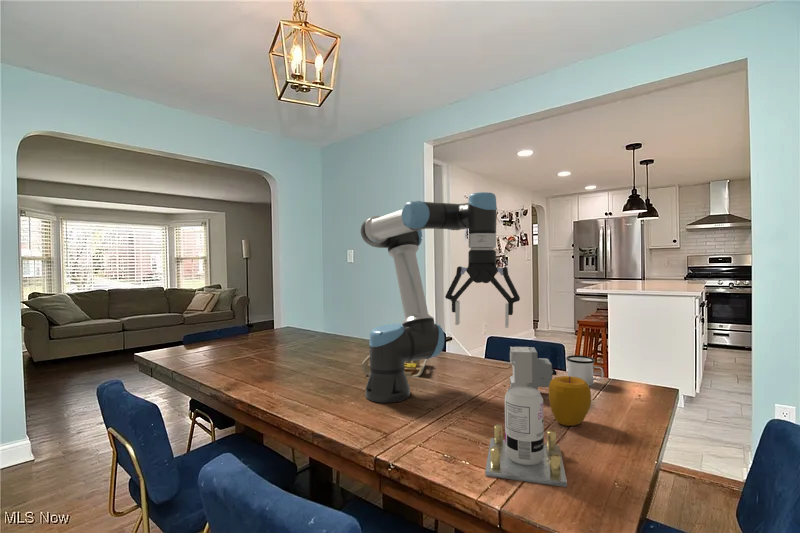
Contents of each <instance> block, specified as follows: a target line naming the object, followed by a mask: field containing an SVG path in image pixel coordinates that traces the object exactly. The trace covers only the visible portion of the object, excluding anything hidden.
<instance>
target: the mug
mask: <svg viewBox="0 0 800 533" xmlns="http://www.w3.org/2000/svg"><path fill="white" fill-rule="evenodd" d="M565 360H567V376H571V377H577V378H581V379H583V380H584V381H585V382H586V383H587V384H588V386H589V387H591V386H593V385H594V381H602V380H603V379H604V369H603V367H600V366H596V365H594V363H595V362H596V359H595V358H594V357H591V356H587V355H580V354H576V355H575V354H574V355H568V356H566V358H565ZM594 369H600V370H601V376H600V377H601V378H596V377H595V378H594Z"/></svg>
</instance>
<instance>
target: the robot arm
mask: <svg viewBox="0 0 800 533" xmlns="http://www.w3.org/2000/svg"><path fill="white" fill-rule="evenodd" d="M497 209H498V208H497V196H496V194H495V193H493V192H486V191H485V192H481V191H480V192H473V193H470V194H469V195H468V201H467V202H465V203H449V202H448V203H447V202H434V201H431V202H430V201H421V200H416V201H412V200H411V201H407V202H405V203H404V206H403V207H402V209H399V210H395V211H393V212H391V213H387V214H385V215H382V216H380V215H373V216H371V217H368V218H366V219H365V220H364V221H363V223H362V224H361V227H360V236H361V239H363V241H364V242H365V243H366V244H368V245H369V246H371V247H374V248H379V249H381V248H382V249H383V248H384V249H387V252H388V255H389V256H390V257H392V258H393V262H394V267H395V273H396V278H397V284H398V288H399V294H400V299H401V300H400V301H401V304H402V308H403V309H402V310H403V313H404V315H403V316H404V320H403V322H402V323H391V324H390V323H388V324H382V325H379V326H376V327H374V328H373V329H371V331H370V333H369V342H368V345H369V355H370V360H369V364H370V375H369V376H368V379H367V383H366V386H365V391H364V393H365V394H364V395H365V398H366V399H367V400H369V401H372V402H376V403H385V404H386V403H396V402H402V401H405V400H406V399H408V398H409V397H410V396H411V388H410V384H409V382H408V378H407V377H406V375H405V370H404V362H408V361H411V362H413V361H414V360H419V361H420V360H425V359H427V360H429V359H431V358H435V357H438V356H440V354H441V353H442V352H443V348H444V346H445V332H444V330H443V328H442V327H441V325H440V324H438V323H435V319H434V317H433V316H431V315H430V314H429V311H428V306H427V301H426V296H425V292H424V287H423V282H422V277H421V272H420V268H419V264H418V258H417V253H418V251H419V247H420V245H421V244H422V237H423V232H422V231H423V230H426V229H427V230H428V229H429V230H433V229H437V230H449V231H460V230H468V248H469V249H470V250H468V259H467V261H468V263H467V264H468V265H467V267H464V266H457V267H456V273H455V274H456V275H455V276H454V278H453V280H452V281H451V284H450V285H449V288H448V289H447V292H446V294H445V296H444V298H445V299H446V300H450V301H451V312H452V313H454V314H455V315H454V316H455V321H454V322H455V323H454V324H455V326H459V324H460V323H461V322H460V321H461V320H460V317H461V315H460V309H461V308H460V307H461V305H460V304H461V303H460V302H461V301H460V300H458V299H459V298H460V297H461V296H462V294H463V293H464V292H465V291H466V289H468V288H469V286H470V285H471V284H472V283H473V282H474V283H476V284H480V283H483V284H488V283H491V285H493V286H494V287H495V288H496V290H498V292H499V293H500V294H501V295H502V297H503V298H504V299H505V300H506V302H505V306H504V307H505V314H504V315H505V316H504V318H505V320H504V322H505V323H504V328H509V322H510V321H509V319H510V316H512V315H513V314H514V304H515V303H517V302H519V301H520V300H521V297H520V295H519V293H518V291H517V289H516V287H515V285H514V283H513V281H512V279H511V277H510V275H509V269H508V267H507V266H504V267H497V251H496V250H495V249H496V248H497V212H498V210H497ZM465 273H467V274H468V275H469V278H468V279H467V280H466V281H465V282H464V284H463V285H462V286H461V287H460V288H459V289H458V290H457V291H456V293H455V294H454V295H453V293H454V291H455V289H456V288H457V285H458V284H459V282H460V280H461V278H462V275H465ZM498 273H500V275H501V276H502V277H503V278H504V281H505V282H506V284H507V286H508V288H509V291H510V292H511V294H512V296H513V297H512V296H511V295H510V294H509V293H508V292H507V291H506V289H505V288H504V287H503V285H502V284H501V283H500V282H499V281H498V280H497V278H496V277H495V276H496V275H497V274H498Z"/></svg>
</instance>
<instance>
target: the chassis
mask: <svg viewBox="0 0 800 533" xmlns="http://www.w3.org/2000/svg"><path fill="white" fill-rule="evenodd" d="M493 427H494V428H493V430H494V431H493V433H494V434H493V435H494V436H493V437H494V438H493V437H490V441H489V446H488V452H487V458H486V464H485V471H484V475H485V477H493V478H498V479H506V480H513V481H521V482H525V483H526V482H528V483H532V484H533V483H535V484H543V485H549V486H555V487H556V486H557V487H563V488H568V481H567V476H566V470H565V465H564V461H563V455H562V451H561V446H560V445H557V440H556V439H557V438H556V437H557V435H556V431H555V430H553V429H548V430H546V443H544V459H543V460H542V461H541V462H540V463H538V464H536V465H529V466H528V465H521V464H517V463H515V462H513V461H512V460H510V459H509V457H508V456H507V455H506V452H505V438H504V437H503V436H504V435H503V434H504V432H503V431H504V430H503V425H502V424H494V425H493Z"/></svg>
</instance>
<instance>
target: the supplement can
mask: <svg viewBox="0 0 800 533" xmlns="http://www.w3.org/2000/svg"><path fill="white" fill-rule="evenodd" d="M544 427H545V426H544V398H543V396H542V394H541V391H540V390H539V389H538V390H537V389H535V388H532V387H526V386H514V387H510V386H509V388H507V392H506V393H505V395H504V432H505V433H504V440H505V452H506V455H507V456H508V457H509V459H510V460H512V461H513V462H515V463H517V464H521V465H528V466H529V465H536V464H538V463H540V462H541V461H542V460H543V459H544V444H545V443H544V442H545V439H544V438H545V437H544V436H545V434H544V433H545V432H544V431H545V430H544V429H545V428H544Z"/></svg>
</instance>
